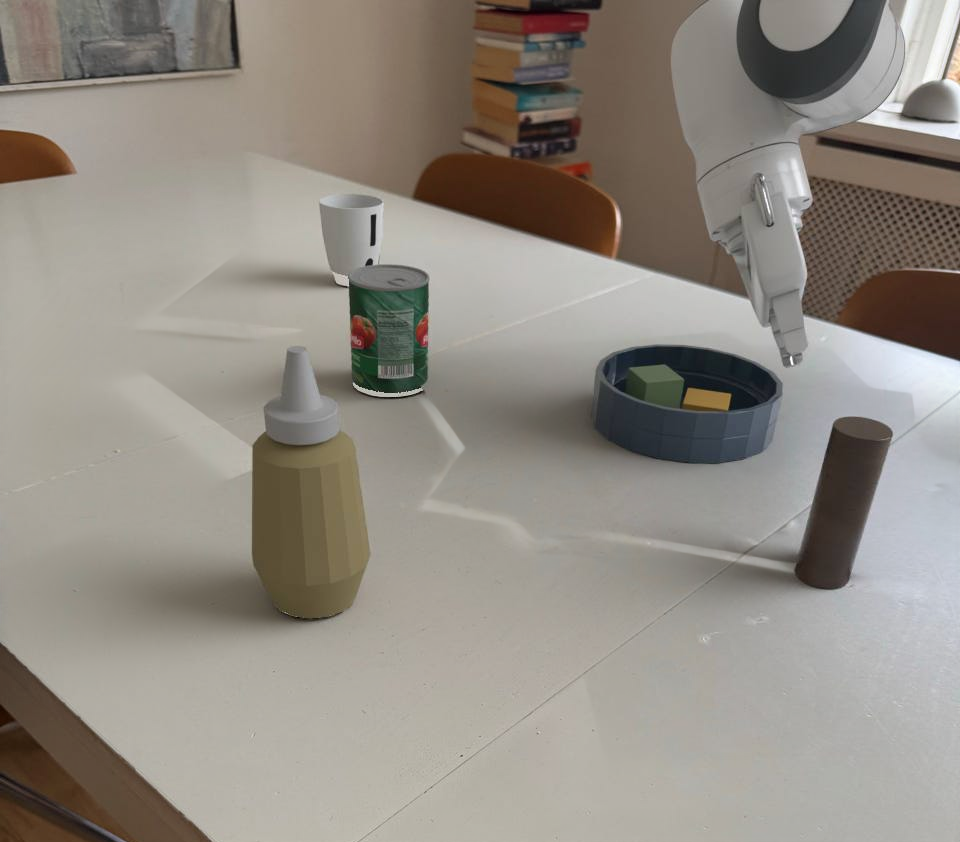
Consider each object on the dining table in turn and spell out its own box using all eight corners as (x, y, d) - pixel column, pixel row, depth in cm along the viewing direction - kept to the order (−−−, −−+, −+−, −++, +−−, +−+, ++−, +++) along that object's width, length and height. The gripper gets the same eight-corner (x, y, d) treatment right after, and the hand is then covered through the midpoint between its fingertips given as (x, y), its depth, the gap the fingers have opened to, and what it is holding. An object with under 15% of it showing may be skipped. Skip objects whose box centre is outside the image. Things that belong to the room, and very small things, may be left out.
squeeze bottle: (395, 598, 71) (392, 351, 61) (307, 646, 66) (287, 385, 56) (320, 556, 75) (305, 318, 65) (232, 598, 70) (200, 347, 60)
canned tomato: (336, 380, 104) (331, 271, 97) (398, 364, 108) (397, 259, 101) (381, 405, 99) (379, 292, 92) (443, 387, 103) (445, 279, 97)
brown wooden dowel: (837, 561, 78) (879, 416, 71) (856, 589, 74) (902, 440, 67) (787, 561, 77) (825, 415, 70) (804, 589, 74) (845, 439, 67)
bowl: (742, 397, 104) (752, 345, 101) (794, 472, 90) (808, 414, 87) (579, 395, 103) (584, 342, 100) (606, 470, 89) (614, 412, 86)
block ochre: (723, 434, 94) (731, 393, 92) (719, 451, 91) (727, 409, 89) (681, 427, 95) (688, 387, 93) (676, 444, 92) (682, 403, 90)
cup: (376, 293, 127) (375, 210, 122) (315, 288, 128) (310, 205, 122) (391, 276, 134) (390, 196, 128) (332, 270, 135) (329, 191, 129)
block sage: (659, 403, 100) (665, 364, 98) (678, 418, 97) (684, 379, 95) (623, 406, 99) (628, 367, 97) (640, 422, 96) (646, 382, 93)
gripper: (798, 149, 75) (843, 330, 76) (789, 217, 95) (825, 361, 96) (714, 181, 77) (759, 357, 78) (723, 241, 96) (759, 381, 98)
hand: (796, 359), depth 87 cm, fingers open, 8 cm apart
